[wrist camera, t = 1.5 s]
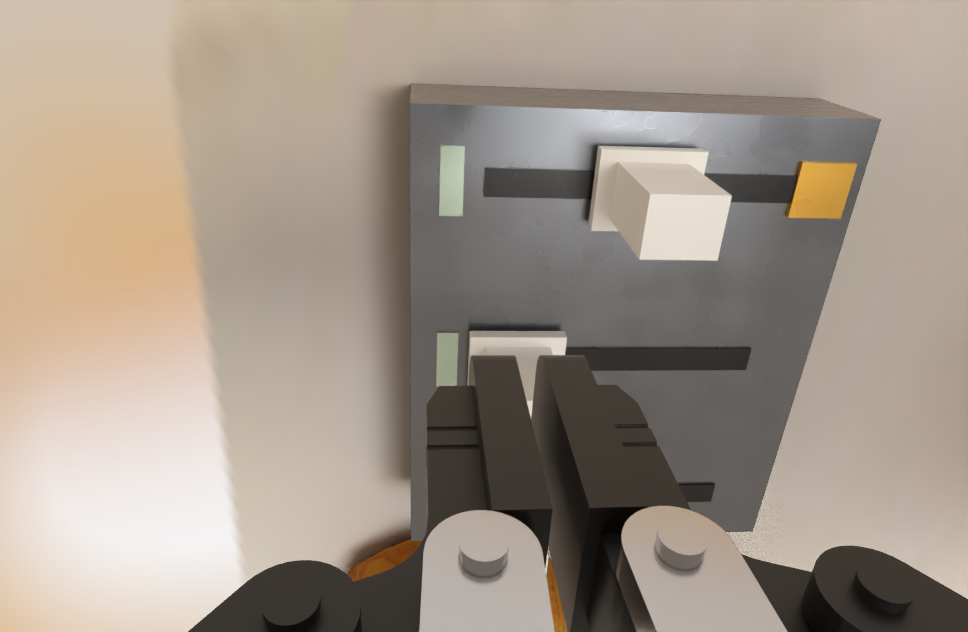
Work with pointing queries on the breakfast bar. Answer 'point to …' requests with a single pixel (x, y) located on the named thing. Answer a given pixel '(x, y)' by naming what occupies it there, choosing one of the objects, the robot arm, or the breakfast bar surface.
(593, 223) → the block
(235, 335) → the breakfast bar surface
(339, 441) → the breakfast bar surface
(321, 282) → the breakfast bar surface
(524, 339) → the breaker middle
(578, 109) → the breaker panel
